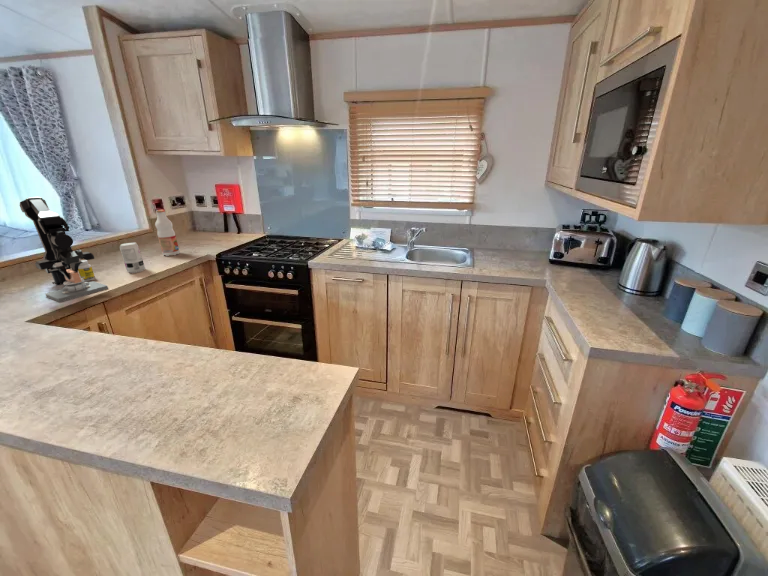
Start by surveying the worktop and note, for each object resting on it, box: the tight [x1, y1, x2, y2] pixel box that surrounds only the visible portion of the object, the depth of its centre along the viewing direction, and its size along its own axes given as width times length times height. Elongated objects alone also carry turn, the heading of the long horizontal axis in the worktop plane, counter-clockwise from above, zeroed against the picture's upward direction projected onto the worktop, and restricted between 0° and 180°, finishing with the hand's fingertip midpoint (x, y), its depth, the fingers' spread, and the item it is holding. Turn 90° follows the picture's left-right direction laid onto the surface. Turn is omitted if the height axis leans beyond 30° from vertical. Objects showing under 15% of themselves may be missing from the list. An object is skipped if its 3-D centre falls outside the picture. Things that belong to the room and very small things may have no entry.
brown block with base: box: [61, 269, 89, 292], centre depth 152 cm, size 9×10×8 cm
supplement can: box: [119, 242, 146, 274], centre depth 180 cm, size 8×8×15 cm
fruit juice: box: [154, 209, 180, 257], centre depth 209 cm, size 9×9×28 cm
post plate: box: [44, 280, 109, 303], centre depth 153 cm, size 14×18×4 cm
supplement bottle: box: [78, 259, 96, 282], centre depth 169 cm, size 5×5×10 cm
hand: (72, 278), depth 151 cm, fingers closed on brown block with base, 2 cm apart
